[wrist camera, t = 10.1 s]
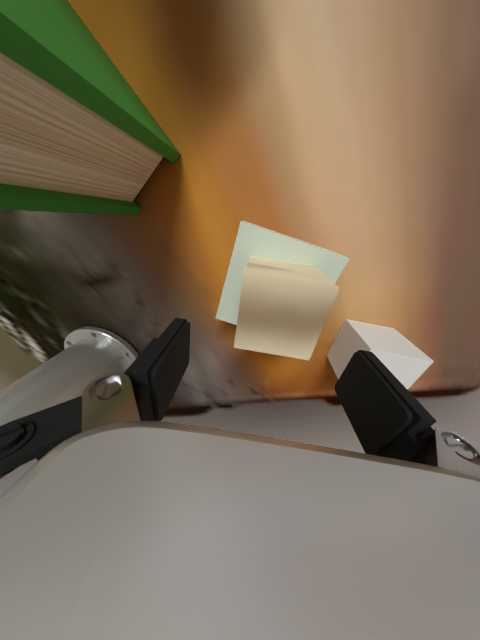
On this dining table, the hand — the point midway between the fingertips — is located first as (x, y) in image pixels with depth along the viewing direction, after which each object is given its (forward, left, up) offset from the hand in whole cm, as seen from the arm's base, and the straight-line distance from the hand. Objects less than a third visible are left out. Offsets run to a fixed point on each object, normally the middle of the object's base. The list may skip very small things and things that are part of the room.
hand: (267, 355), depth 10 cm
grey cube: (-5, -14, -13) cm, 20 cm away
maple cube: (+1, -1, -9) cm, 9 cm away
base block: (+1, -1, -13) cm, 13 cm away
